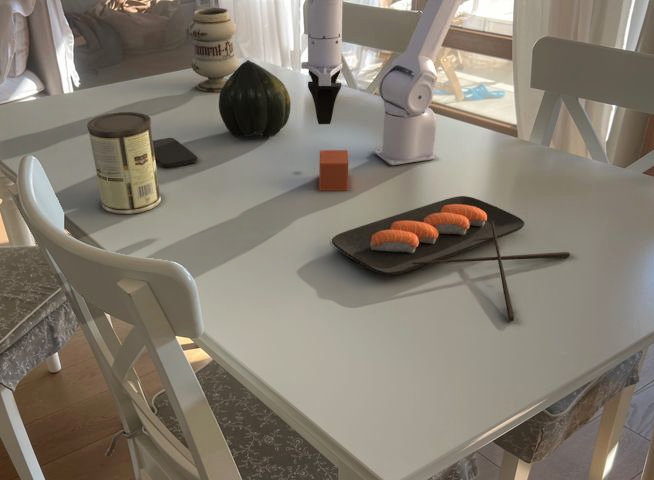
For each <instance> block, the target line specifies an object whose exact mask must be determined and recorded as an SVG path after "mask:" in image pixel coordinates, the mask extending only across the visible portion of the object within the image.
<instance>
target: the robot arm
mask: <svg viewBox="0 0 654 480" xmlns="http://www.w3.org/2000/svg"><path fill="white" fill-rule="evenodd" d="M461 3H462V0H427V1H426V3H425V5H424V7H423V10H422V12H421V14H420V17H419V20H418V22H417V25H416V27H415V29H414V30H413V33H412V36H411V38H410V40H409V43H408V45H407V47H406V49H405V51H404V52H403V53H401V54H400V55H398V56H397V57H396V58H394V59H393V60H392V63H391V65H390V66H389V69H387V71H386V72H385V73H384V74H383V75H382V76H381V78H380V80H379V83H378V95H379V97H380V99H381V100H382V101H383V108H384V115H383V117H384V118H383V131H382V132H383V134H382V148H379V149H374V150H373V154H375V155H376V156H378V157H379V158H380V159H382V160H383V161H384V162H386V163H387V164H388V165H390V166H398V165H404V164H411V163H416V162H417V163H418V162H423V161H429V160H435V159H436V156H435V155H434V151H435V143H436V133H437V119H436V114H435V112H434V110H433V109H432V108H430V105H431V103H432V102H433V98H434V90H435V86H436V82H437V80H438V74H437V71H436V67H435V65H434V63H435V60H436V58H437V56H438V53H439V52H440V50H441V47H442V45H443V43H444V41H445V39H446V36H447V34H448V32H449V29H450V27H451V25H452V23H453V20H454V18H455V17H456V13H457V11H458V9H459V8H460V5H461ZM342 42H343V0H307V61H302V62H301V63H300V68H301V69H302V70H308V74H309V76H310V79H311V81H307V88H308V91H309V92H310V94H311V97H312V101H313V104H314V108H315V114H316V115H315V116H316V120H317V124H318V125H331V123H332V119H333V113H334V109H335V103H336V100H337V97H338V96H339V92H340V90H341V89H342V82H337V80H338V78H339V75H340V73H341V70H342V69H343V61H342V46H343V45H342V44H343V43H342Z"/></svg>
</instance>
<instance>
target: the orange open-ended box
mask: <svg viewBox="0 0 654 480" xmlns="http://www.w3.org/2000/svg"><path fill="white" fill-rule="evenodd" d="M318 166H319V167H318V168H319V169H318V170H319V173H318V174H319V175H318V176H319V177H318V180H319V181H318V183H319V184H318V190H319V191H320V192H321V191H348V188H349V151H348V150H347V149H341V150H340V149H337V150H336V149H330V150H329V149H326V150H323V149H320V150H319V165H318Z"/></svg>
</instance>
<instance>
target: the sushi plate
mask: <svg viewBox="0 0 654 480" xmlns="http://www.w3.org/2000/svg"><path fill="white" fill-rule="evenodd" d="M523 227H525V221H524V220H523V219H522V218H520V217H518V216H517V215H515V214H514V213H511V212H509V211H507V210H504V209H502V208H500V207H497V206H495V205H492V204H491V203H488V202H487V201H483V200H481V199H478V198H475V197H472V196H467V195H459V196H453V197H449V198H446V199H445V198H444V199H442V200H438V201H435V202H432V203H429V204H425V205H423V206H420V207H417V208H413V209H410V210H407V211H404V212H401V213H399V214H394V215H392V216H389V217H386V218H382V219H379V220H376V221H373V222H370V223H367V224H364V225H361V226H357V227H354V228H352V229H349V230H346V231H342V232H340V233H338V234H336V235H335V236H333V237H332V238H331V244H332V245H333V246H334V248H335V249H337V250H338V251H339V252H341V253H342V254H344V255H345V256H347V257H349V258H350V259H352V260H353V261H355V262H356V263H358V264H360V265H362V266H363V267H365V268H367V269H369V270H371V271H373V272H375V273H376V274H381V275H383V276H384V275H385V276H395V275H401V274H404V273H407V272H410V271H413V270H416V269H419V268H421V267H425V266H427V265H430V264H444V263H445V264H447V263H466V262H484V261H485V262H487V261H489V262H490V261H497V263H498V268H499V273H500V281H501V285H502V291H503V296H504V303H505V308H506V314H507V318H508V322H514V320H515V319H514V318H515V315H514V310H513V305H512V300H511V296H510V292H509V288H508V287H509V286H508V283H507V278H506V275H505V274H506V273H505V269H504V266H503V261H511V260H512V261H513V260H536V259H537V260H539V259H540V260H541V259H559V258H562V259H563V258H569V257H570V256H571V253H570V252H569V251H561V252H560V251H557V252H544V253H529V254H514V255H501V253H500V252H501V251H500V247H499V242H498V239H501V238H503V237H505V236H508V235H511V234H513V233H516V232H518V231H519V230H522V229H523ZM493 241H494V247H495V252H496V256H487V257H485V256H484V257H471V258H455V259H453V258H452V259H446V258H449V257H451V256H455V255H457V254H459V253H463V252H465V251H468V250H471V249H473V248H476V247H479V246H481V245H484V244H487V243H490V242H493Z"/></svg>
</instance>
